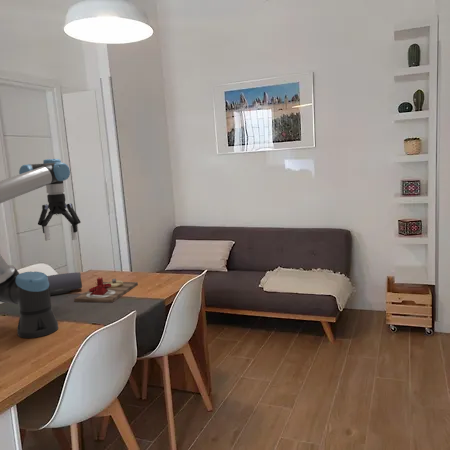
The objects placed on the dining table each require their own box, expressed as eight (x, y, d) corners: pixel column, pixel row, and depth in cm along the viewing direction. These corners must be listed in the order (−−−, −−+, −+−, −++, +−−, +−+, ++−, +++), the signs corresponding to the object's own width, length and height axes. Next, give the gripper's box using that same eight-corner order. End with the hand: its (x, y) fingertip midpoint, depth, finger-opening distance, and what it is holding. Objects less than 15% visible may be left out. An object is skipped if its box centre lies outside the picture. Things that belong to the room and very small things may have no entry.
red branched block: (105, 288, 231) (104, 272, 229) (115, 293, 221) (113, 276, 220) (85, 293, 224) (83, 277, 223) (94, 298, 215) (92, 281, 214)
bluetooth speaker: (81, 287, 242) (79, 269, 241) (82, 292, 234) (80, 273, 232) (36, 294, 234) (33, 275, 233) (35, 299, 226) (33, 279, 224)
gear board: (112, 302, 212) (111, 292, 212) (74, 301, 217) (73, 291, 216) (137, 284, 241) (137, 275, 241) (103, 284, 246) (102, 275, 245)
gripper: (85, 191, 203) (89, 237, 206) (36, 193, 209) (41, 238, 212) (76, 193, 196) (81, 240, 199) (26, 195, 201) (31, 241, 204)
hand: (61, 239), depth 205 cm, fingers open, 13 cm apart
